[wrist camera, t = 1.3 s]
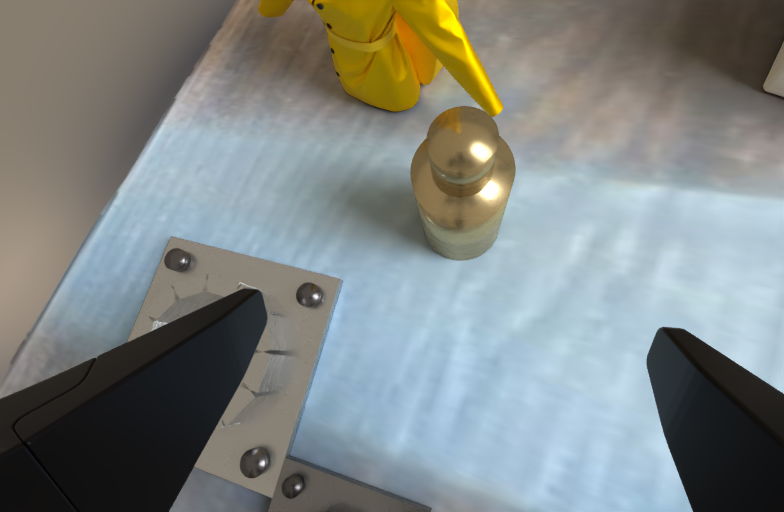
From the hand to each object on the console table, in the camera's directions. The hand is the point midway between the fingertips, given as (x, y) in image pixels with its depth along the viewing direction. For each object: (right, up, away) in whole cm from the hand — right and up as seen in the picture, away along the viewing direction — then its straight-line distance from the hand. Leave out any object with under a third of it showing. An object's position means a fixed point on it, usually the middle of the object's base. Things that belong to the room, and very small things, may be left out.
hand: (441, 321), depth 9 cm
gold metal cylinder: (+3, +3, +14) cm, 15 cm away
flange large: (-11, -4, +15) cm, 19 cm away
